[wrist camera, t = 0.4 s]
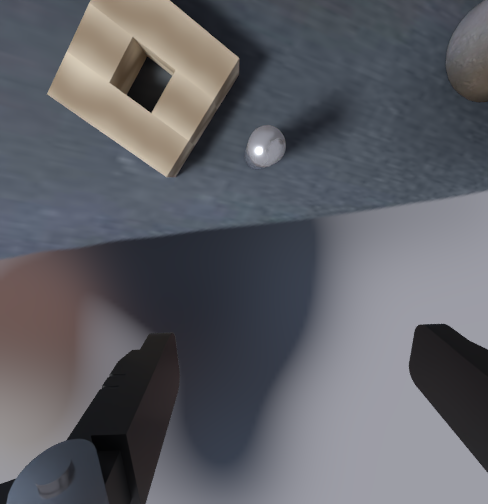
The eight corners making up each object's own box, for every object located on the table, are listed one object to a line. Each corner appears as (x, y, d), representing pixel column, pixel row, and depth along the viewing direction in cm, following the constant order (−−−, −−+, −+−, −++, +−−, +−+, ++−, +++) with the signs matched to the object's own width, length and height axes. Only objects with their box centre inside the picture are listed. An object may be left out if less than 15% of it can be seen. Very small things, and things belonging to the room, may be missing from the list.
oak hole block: (131, -14, 26) (112, -47, 22) (239, 74, 28) (239, 58, 24) (72, 105, 29) (47, 94, 25) (175, 177, 31) (166, 177, 27)
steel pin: (254, 136, 30) (263, 116, 20) (275, 152, 31) (293, 141, 21) (239, 159, 31) (240, 150, 21) (260, 174, 31) (270, 173, 22)
